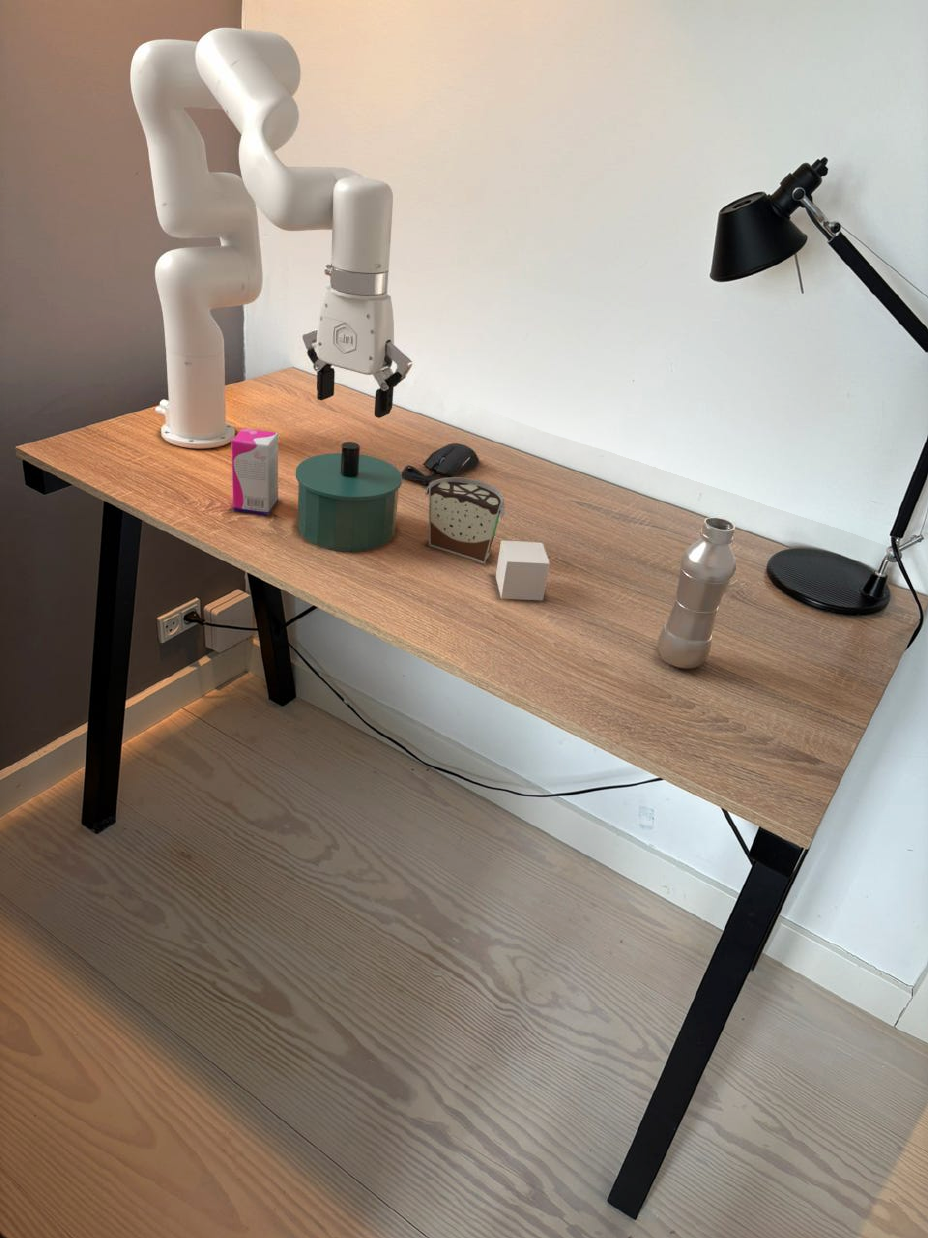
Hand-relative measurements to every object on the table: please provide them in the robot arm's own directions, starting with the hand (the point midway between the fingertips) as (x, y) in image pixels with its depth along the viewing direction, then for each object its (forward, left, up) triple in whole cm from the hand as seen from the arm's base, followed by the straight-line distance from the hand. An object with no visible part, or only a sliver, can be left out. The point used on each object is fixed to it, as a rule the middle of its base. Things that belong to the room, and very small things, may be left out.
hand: (353, 406), depth 133 cm
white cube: (+29, +1, -20) cm, 35 cm away
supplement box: (-15, -3, -20) cm, 25 cm away
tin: (0, 0, -19) cm, 19 cm away
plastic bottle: (+54, -2, -20) cm, 57 cm away
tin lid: (0, 0, -11) cm, 11 cm away
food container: (+17, +7, -20) cm, 27 cm away
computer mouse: (+3, +29, -20) cm, 35 cm away
